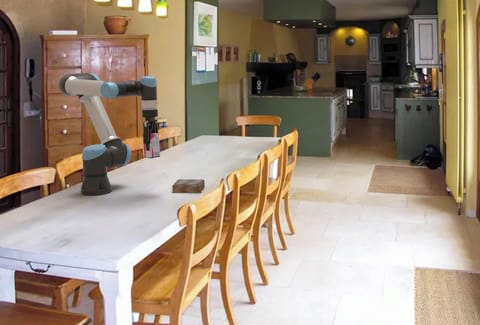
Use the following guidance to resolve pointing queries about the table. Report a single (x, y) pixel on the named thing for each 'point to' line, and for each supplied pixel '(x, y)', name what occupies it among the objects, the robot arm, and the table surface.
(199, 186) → the walnut stand
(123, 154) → the robot arm
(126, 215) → the table surface
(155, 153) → the supplement box
